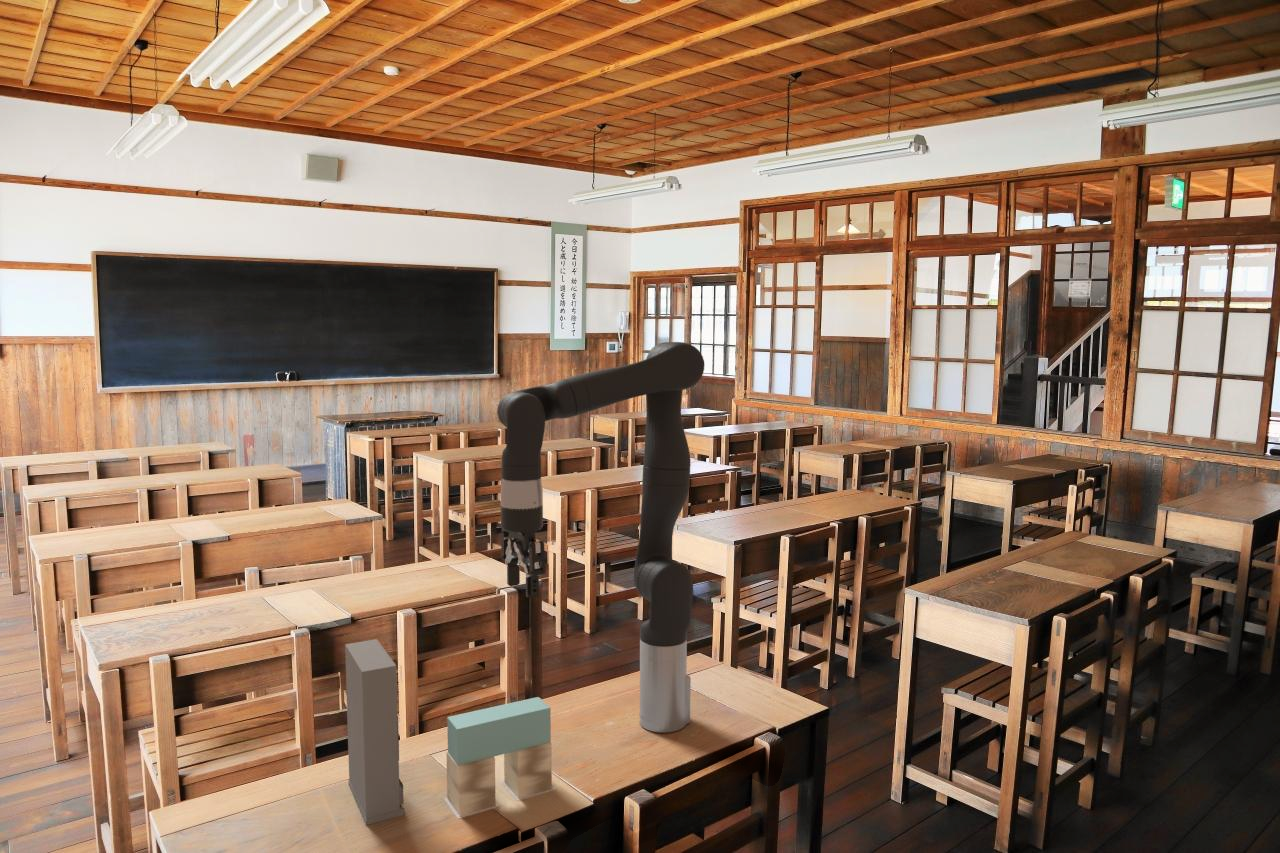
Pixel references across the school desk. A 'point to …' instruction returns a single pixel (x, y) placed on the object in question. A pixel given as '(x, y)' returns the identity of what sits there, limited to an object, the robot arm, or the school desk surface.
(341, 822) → the school desk surface
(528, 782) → the pillar
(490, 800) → the pillar
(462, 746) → the lintel
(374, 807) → the tall grey upright post
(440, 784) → the school desk surface
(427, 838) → the school desk surface
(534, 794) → the thin flat base plate
